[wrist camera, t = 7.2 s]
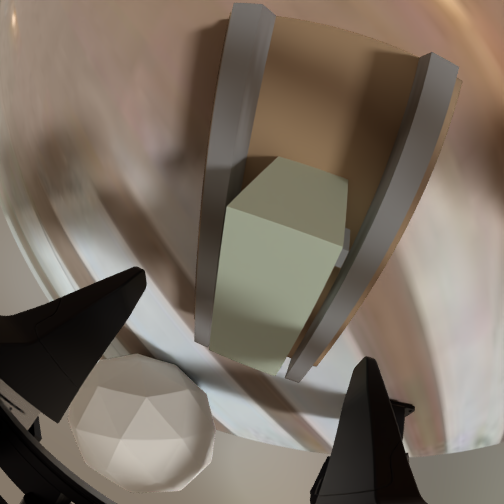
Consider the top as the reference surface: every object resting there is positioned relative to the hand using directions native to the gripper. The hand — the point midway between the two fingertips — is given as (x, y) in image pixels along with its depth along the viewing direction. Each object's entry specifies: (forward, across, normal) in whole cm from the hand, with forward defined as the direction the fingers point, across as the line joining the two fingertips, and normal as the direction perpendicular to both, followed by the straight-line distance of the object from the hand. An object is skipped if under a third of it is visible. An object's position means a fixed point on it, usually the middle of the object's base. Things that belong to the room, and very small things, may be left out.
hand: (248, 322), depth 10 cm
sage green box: (+6, 0, 0) cm, 7 cm away
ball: (+8, +9, +28) cm, 31 cm away
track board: (+8, 0, 0) cm, 8 cm away
